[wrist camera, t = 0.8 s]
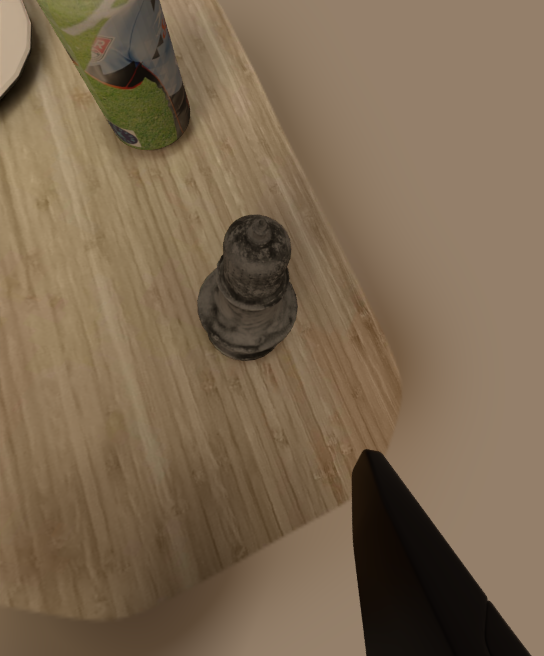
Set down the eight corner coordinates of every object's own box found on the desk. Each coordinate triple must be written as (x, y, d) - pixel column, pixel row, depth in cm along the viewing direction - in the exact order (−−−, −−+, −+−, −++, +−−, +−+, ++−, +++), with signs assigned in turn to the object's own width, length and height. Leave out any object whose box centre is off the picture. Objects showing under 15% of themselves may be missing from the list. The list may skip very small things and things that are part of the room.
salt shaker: (242, 383, 23) (257, 329, 12) (182, 318, 24) (144, 210, 13) (305, 326, 25) (371, 231, 14) (248, 267, 26) (265, 131, 14)
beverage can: (207, 132, 29) (196, -68, 18) (133, 181, 27) (64, -9, 15) (155, 84, 30) (111, -137, 18) (79, 128, 28) (-25, -91, 16)
